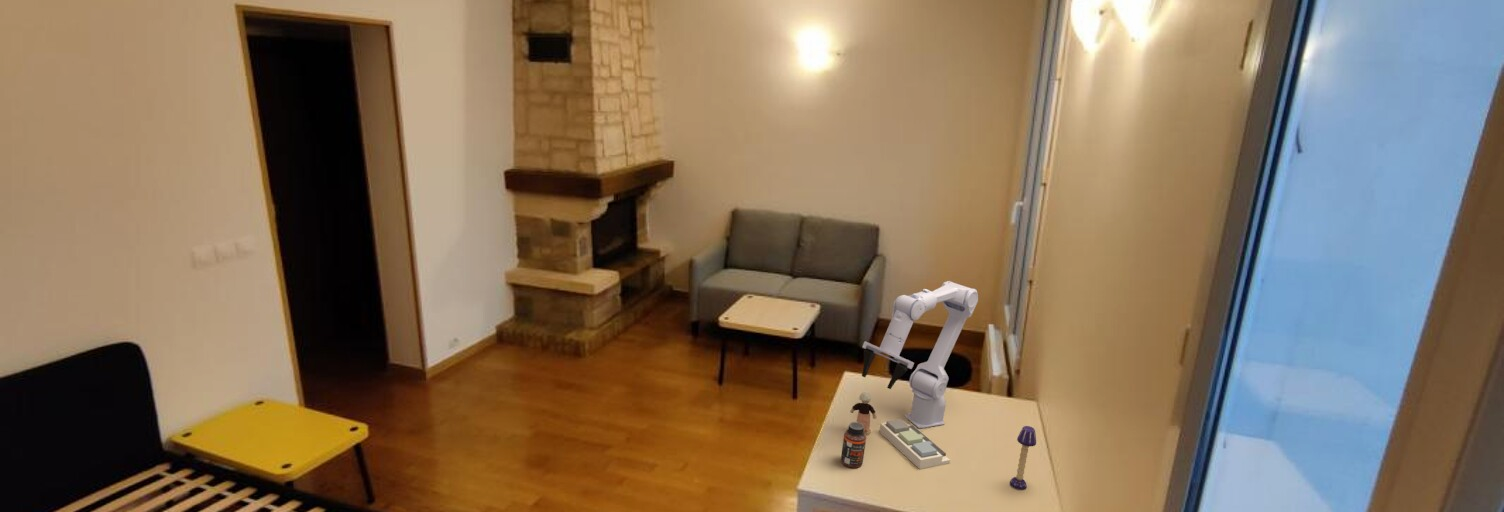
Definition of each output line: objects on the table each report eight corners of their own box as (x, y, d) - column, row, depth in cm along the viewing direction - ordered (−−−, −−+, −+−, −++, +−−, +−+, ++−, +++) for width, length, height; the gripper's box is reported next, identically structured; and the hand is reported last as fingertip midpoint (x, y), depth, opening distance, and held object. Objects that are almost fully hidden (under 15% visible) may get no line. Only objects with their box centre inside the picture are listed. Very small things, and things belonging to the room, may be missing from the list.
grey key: (899, 423, 209) (900, 418, 208) (909, 431, 205) (909, 426, 204) (886, 425, 207) (886, 421, 207) (895, 433, 203) (895, 429, 202)
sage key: (912, 434, 203) (913, 429, 203) (922, 442, 199) (923, 438, 199) (898, 436, 201) (899, 432, 201) (908, 445, 197) (908, 440, 197)
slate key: (925, 445, 197) (926, 441, 197) (936, 454, 193) (937, 450, 193) (911, 448, 196) (912, 443, 195) (921, 457, 191) (922, 453, 191)
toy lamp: (1005, 479, 189) (1016, 423, 184) (1022, 479, 189) (1033, 423, 184) (1013, 489, 184) (1024, 433, 179) (1030, 490, 184) (1042, 433, 180)
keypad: (907, 427, 212) (908, 418, 211) (949, 463, 194) (951, 454, 194) (879, 431, 208) (880, 423, 208) (919, 469, 191) (920, 460, 190)
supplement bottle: (848, 470, 188) (853, 433, 184) (836, 459, 193) (840, 422, 189) (867, 466, 190) (871, 428, 187) (854, 454, 195) (858, 418, 192)
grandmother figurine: (873, 429, 210) (878, 390, 206) (874, 435, 206) (879, 396, 202) (848, 426, 210) (852, 387, 207) (848, 432, 207) (852, 393, 203)
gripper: (868, 325, 194) (849, 370, 194) (918, 346, 188) (898, 393, 188) (873, 328, 201) (854, 372, 200) (921, 348, 195) (902, 394, 194)
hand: (876, 382), depth 194 cm, fingers open, 7 cm apart
